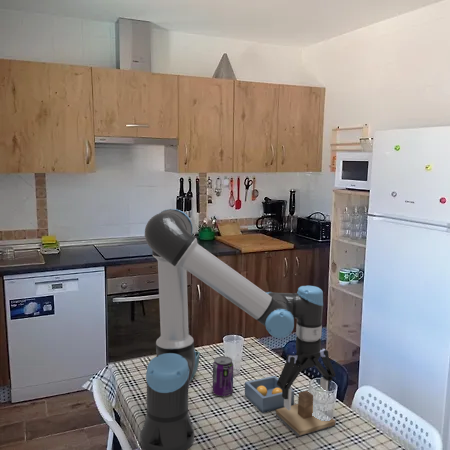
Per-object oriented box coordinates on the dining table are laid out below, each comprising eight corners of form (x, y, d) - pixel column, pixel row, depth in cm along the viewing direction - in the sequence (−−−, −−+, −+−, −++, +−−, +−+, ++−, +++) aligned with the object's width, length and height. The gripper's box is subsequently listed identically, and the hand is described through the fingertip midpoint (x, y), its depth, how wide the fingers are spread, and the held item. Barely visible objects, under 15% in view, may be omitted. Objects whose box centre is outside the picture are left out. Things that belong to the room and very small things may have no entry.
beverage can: (230, 399, 152) (231, 365, 150) (210, 396, 153) (210, 363, 152) (234, 389, 159) (235, 356, 157) (214, 386, 160) (215, 354, 159)
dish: (262, 413, 143) (262, 398, 143) (244, 395, 154) (245, 382, 153) (293, 405, 149) (294, 391, 148) (274, 389, 159) (274, 375, 159)
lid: (300, 435, 131) (301, 408, 130) (275, 413, 142) (276, 388, 141) (335, 424, 137) (336, 399, 136) (309, 404, 148) (310, 380, 147)
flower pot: (170, 383, 162) (170, 359, 161) (177, 372, 171) (177, 349, 170) (194, 385, 161) (194, 361, 160) (199, 374, 169) (200, 351, 168)
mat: (297, 436, 131) (297, 434, 131) (275, 415, 142) (275, 414, 142) (335, 425, 137) (335, 423, 137) (311, 406, 148) (311, 404, 148)
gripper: (280, 348, 127) (277, 418, 130) (349, 335, 138) (345, 400, 141) (266, 339, 134) (264, 406, 137) (333, 327, 145) (330, 389, 148)
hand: (305, 403), depth 139 cm, fingers open, 13 cm apart
